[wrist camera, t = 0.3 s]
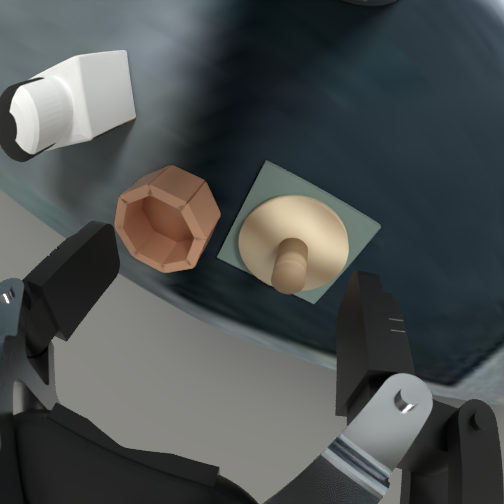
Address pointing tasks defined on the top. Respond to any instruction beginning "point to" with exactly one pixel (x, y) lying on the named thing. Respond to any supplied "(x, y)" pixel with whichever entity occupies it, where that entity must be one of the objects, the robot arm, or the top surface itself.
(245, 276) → the top surface
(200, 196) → the bowl
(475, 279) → the top surface
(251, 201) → the mat
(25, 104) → the medicine bottle
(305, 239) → the lid
